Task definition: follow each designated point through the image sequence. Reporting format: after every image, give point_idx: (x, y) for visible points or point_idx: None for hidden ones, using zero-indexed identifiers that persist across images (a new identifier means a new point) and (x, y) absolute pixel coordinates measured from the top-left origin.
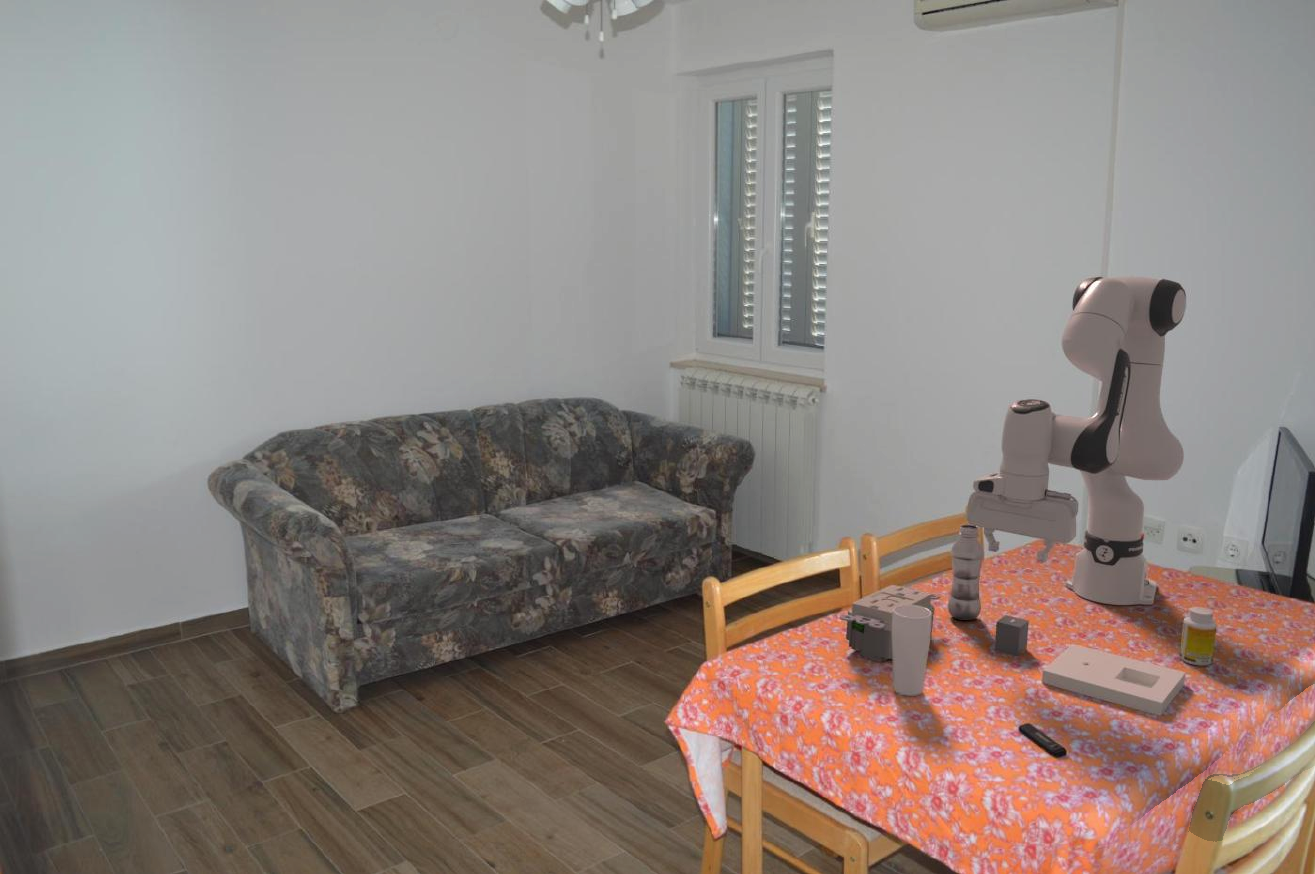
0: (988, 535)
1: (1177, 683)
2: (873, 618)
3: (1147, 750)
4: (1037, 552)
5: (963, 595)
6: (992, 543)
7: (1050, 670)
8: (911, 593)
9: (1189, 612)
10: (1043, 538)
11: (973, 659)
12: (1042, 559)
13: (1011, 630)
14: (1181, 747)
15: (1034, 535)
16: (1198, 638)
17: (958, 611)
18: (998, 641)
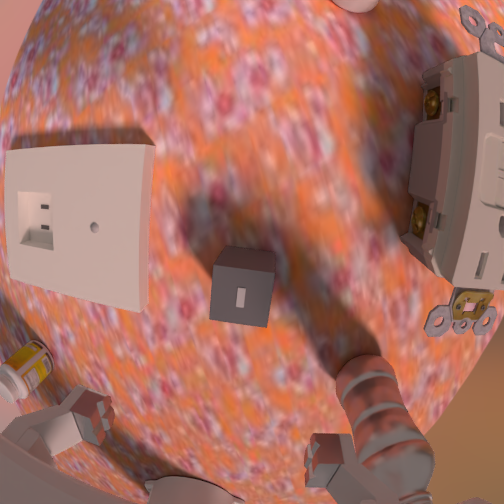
0: (368, 492)
1: (6, 234)
2: (496, 59)
3: (30, 51)
4: (90, 418)
5: (375, 384)
6: (337, 462)
7: (133, 152)
8: (489, 252)
9: (13, 390)
10: (13, 446)
11: (300, 179)
12: (80, 390)
13: (236, 263)
14: (6, 87)
15: (47, 475)
16: (14, 357)
17: (373, 359)
18: (267, 256)
